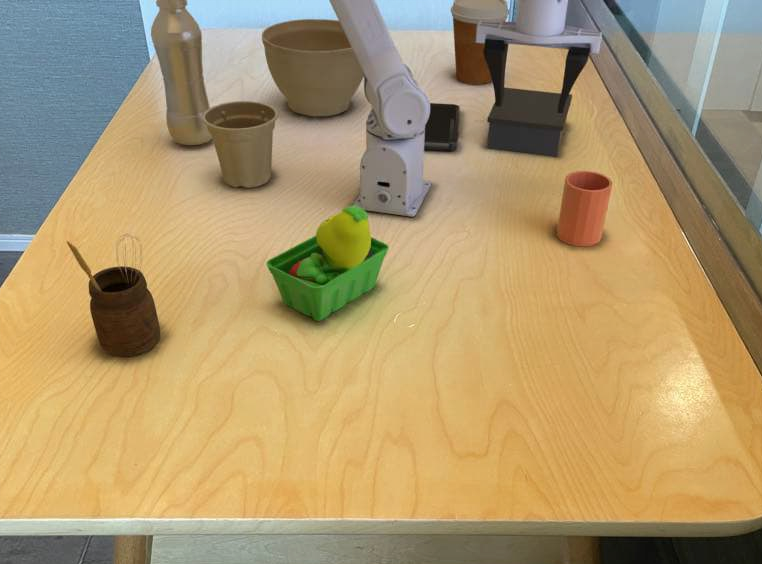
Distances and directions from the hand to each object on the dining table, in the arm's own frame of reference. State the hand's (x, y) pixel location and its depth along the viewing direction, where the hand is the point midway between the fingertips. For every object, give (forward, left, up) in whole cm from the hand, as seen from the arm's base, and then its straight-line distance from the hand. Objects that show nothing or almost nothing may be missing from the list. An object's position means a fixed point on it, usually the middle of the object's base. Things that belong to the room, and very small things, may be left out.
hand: (529, 107), depth 101 cm
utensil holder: (-46, +32, -10) cm, 57 cm away
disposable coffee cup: (+38, +13, -10) cm, 42 cm away
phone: (+14, +15, -10) cm, 23 cm away
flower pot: (-9, +35, -10) cm, 38 cm away
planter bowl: (+18, +34, -10) cm, 40 cm away
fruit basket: (-33, +15, -10) cm, 38 cm away
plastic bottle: (0, +47, -10) cm, 48 cm away
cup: (-12, -9, -10) cm, 18 cm away
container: (+16, +1, -10) cm, 19 cm away
